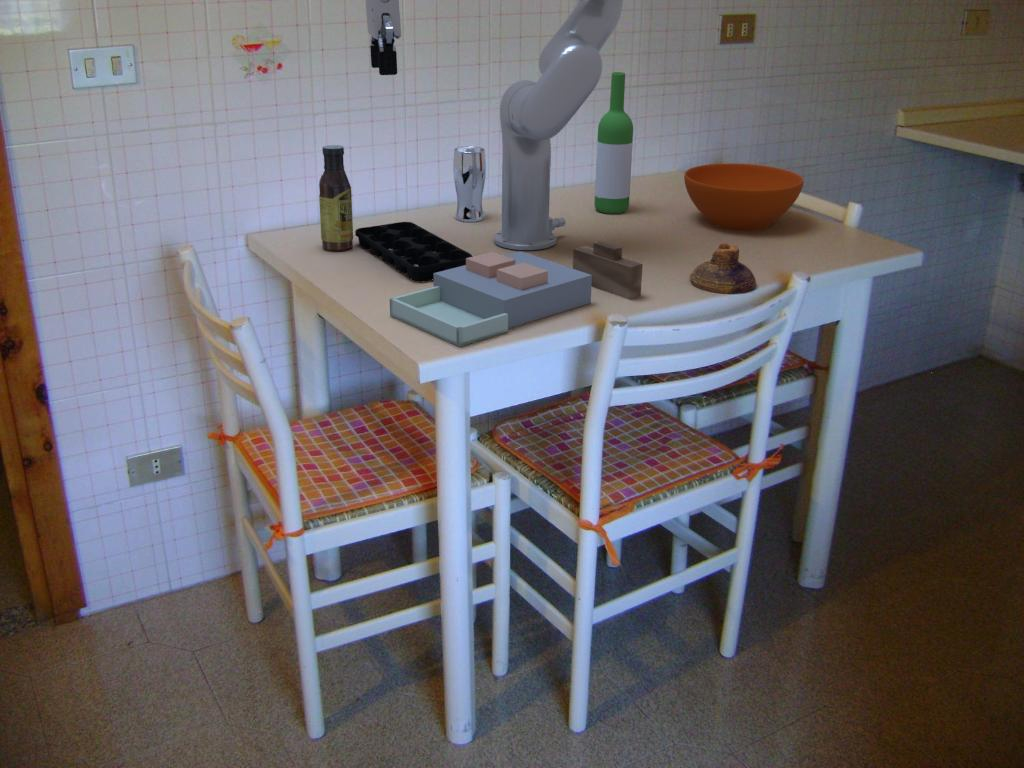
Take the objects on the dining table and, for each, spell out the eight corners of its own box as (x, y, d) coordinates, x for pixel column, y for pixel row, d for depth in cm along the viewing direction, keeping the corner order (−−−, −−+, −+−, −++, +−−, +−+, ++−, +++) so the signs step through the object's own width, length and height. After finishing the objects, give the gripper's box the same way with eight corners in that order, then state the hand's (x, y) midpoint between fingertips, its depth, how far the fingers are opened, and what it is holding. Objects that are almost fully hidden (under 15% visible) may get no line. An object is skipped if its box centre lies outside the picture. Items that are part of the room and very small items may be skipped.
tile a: (492, 262, 186) (492, 251, 185) (515, 271, 182) (515, 259, 181) (465, 269, 183) (465, 258, 182) (488, 278, 179) (488, 266, 178)
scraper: (583, 277, 196) (585, 235, 193) (640, 296, 187) (643, 252, 183) (572, 280, 194) (573, 238, 191) (628, 300, 185) (631, 256, 182)
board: (519, 277, 195) (520, 251, 193) (590, 302, 183) (591, 275, 181) (434, 301, 183) (433, 273, 181) (503, 330, 170) (503, 300, 168)
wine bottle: (619, 216, 234) (626, 76, 222) (587, 211, 238) (593, 73, 226) (634, 209, 240) (642, 72, 228) (604, 204, 244) (610, 69, 232)
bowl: (822, 226, 229) (828, 180, 225) (739, 244, 216) (744, 195, 212) (738, 201, 248) (742, 158, 244) (657, 216, 235) (660, 171, 231)
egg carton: (424, 289, 190) (424, 269, 188) (330, 251, 210) (329, 233, 208) (498, 269, 200) (498, 250, 199) (401, 235, 221) (401, 217, 219)
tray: (437, 302, 182) (437, 285, 181) (507, 331, 170) (508, 314, 169) (390, 315, 176) (389, 298, 175) (459, 347, 164) (459, 328, 162)
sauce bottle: (347, 253, 207) (342, 151, 199) (317, 251, 208) (310, 149, 200) (358, 244, 213) (353, 144, 205) (328, 241, 214) (323, 142, 206)
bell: (735, 299, 186) (739, 259, 183) (677, 284, 193) (680, 246, 190) (767, 284, 194) (772, 245, 191) (710, 270, 201) (714, 232, 198)
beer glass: (491, 217, 233) (492, 148, 226) (473, 224, 227) (473, 154, 221) (465, 212, 236) (465, 144, 230) (447, 219, 231) (446, 150, 224)
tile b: (523, 273, 181) (523, 262, 180) (547, 282, 177) (547, 271, 176) (496, 281, 177) (496, 269, 176) (521, 290, 173) (521, 278, 172)
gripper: (408, -27, 181) (412, 77, 188) (392, -32, 196) (396, 64, 203) (364, -26, 179) (370, 78, 186) (351, -32, 194) (357, 65, 202)
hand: (384, 71), depth 195 cm, fingers open, 9 cm apart
